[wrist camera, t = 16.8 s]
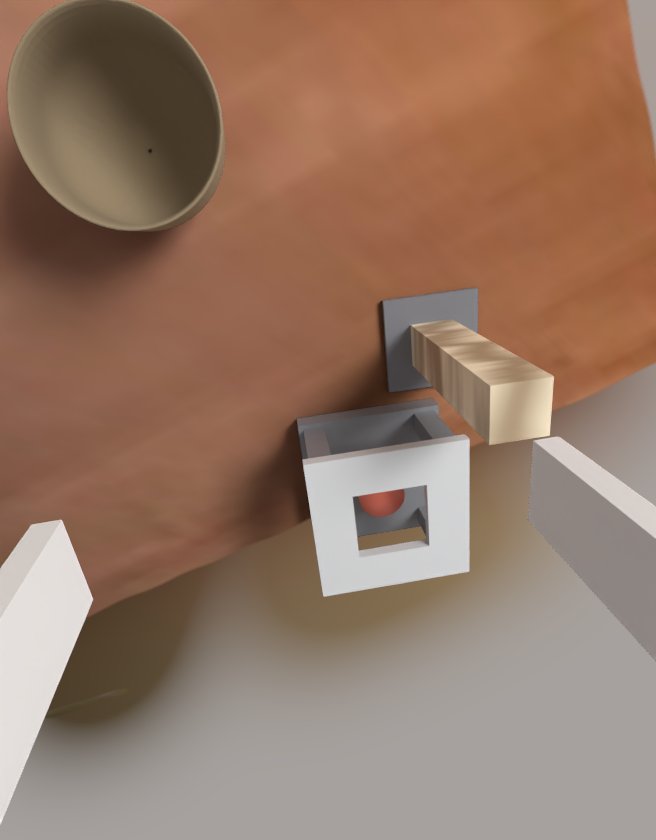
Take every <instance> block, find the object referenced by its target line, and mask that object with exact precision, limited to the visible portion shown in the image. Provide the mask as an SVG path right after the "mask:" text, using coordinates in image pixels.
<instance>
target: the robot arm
mask: <svg viewBox="0 0 656 840" xmlns="http://www.w3.org/2000/svg"><path fill="white" fill-rule="evenodd" d="M530 486H531V487H530V500H529V515H528V520H529V522H530V523H531V524H532V525H533V526H534V527H535V528H536V529H537V531H538V532H539V533H540V534H541V535H542V536H543V537H544V538H545V539H546V541H547V542H548V543H549V544H550V545H551V546H552V547H553V548H554V549H555V550H556V552H557V553H558V554H559V555H560V556H561V557H562V558H563V559H564V560H565V562H567V564H568V565H569V566H570V567H571V568H572V569H573V570H574V571H575V573H577V575H578V576H579V577H580V578H581V579H582V580H583V581H584V583H586V585H587V586H588V587H589V588H590V589H591V590H592V591H593V592H594V594H595V595H596V596H597V597H598V598H599V599H600V600H601V601H602V602H603V603H604V605H605V606H606V607H607V608H608V609H609V610H610V611H611V612H612V614H614V616H615V617H616V618H617V619H618V620H619V621H620V622H621V623H622V624H623V625H624V627H625V628H626V629H627V630H628V631H629V632H630V633H631V634H632V636H633V637H634V638H635V639H636V640H637V641H638V642H639V643H640V644H641V645H642V647H643V648H644V649H645V650H646V651H647V652H648V653H649V654H650V655H651V657H652V658H653V659H654V660H655V661H656V506H654V505H653V504H651V503H650V502H649V501H647V500H646V499H644V498H643V497H642V496H640V495H639V494H638V493H636V492H635V491H633V490H632V489H631V488H629V487H628V486H626V485H625V484H624V483H622V482H621V481H620V480H618V479H617V478H615V477H614V476H613V475H611V474H610V473H608V472H607V471H606V470H604V469H603V468H602V467H600V466H599V465H597V464H596V463H595V462H593V461H592V460H591V459H589V458H587V457H586V456H585V455H584V454H582V453H581V452H580V451H578V450H577V449H575V448H574V447H573V446H571V445H570V444H568V443H567V442H566V441H564V440H563V439H561V438H560V437H553V438H547V439H541V440H536V441H534V443H533V456H532V471H531V485H530ZM92 601H93V598H92V595H91V593H90V590H89V588H88V585H87V583H86V580H85V577H84V575H83V572H82V570H81V567H80V565H79V562H78V560H77V557H76V555H75V552H74V550H73V547H72V544H71V542H70V539H69V537H68V534H67V532H66V529H65V527H64V524H63V522H62V520H56V521H50V522H44V523H38V524H32V525H31V526H30V528H29V529H28V530H27V532H26V533H25V535H24V536H23V537H22V539H21V540H20V542H19V543H18V544H17V546H16V547H15V549H14V550H13V551H12V553H11V554H10V556H9V557H8V558H7V560H6V561H5V563H4V564H3V565H2V567H1V568H0V824H1V822H2V819H3V817H4V814H5V812H6V809H7V807H8V805H9V802H10V800H11V797H12V795H13V793H14V790H15V787H16V785H17V782H18V780H19V778H20V776H21V773H22V771H23V768H24V766H25V763H26V761H27V759H28V756H29V754H30V751H31V748H32V746H33V744H34V742H35V739H36V737H37V734H38V732H39V730H40V727H41V725H42V722H43V720H44V717H45V715H46V713H47V710H48V708H49V705H50V703H51V700H52V698H53V696H54V693H55V691H56V688H57V686H58V683H59V681H60V679H61V676H62V674H63V671H64V669H65V666H66V664H67V662H68V659H69V657H70V654H71V652H72V649H73V647H74V645H75V642H76V640H77V637H78V635H79V633H80V630H81V628H82V625H83V623H84V620H85V618H86V616H87V613H88V611H89V608H90V606H91V603H92Z"/></svg>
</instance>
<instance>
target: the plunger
mask: <svg viewBox="0 0 656 840" xmlns="http://www.w3.org/2000/svg"><path fill="white" fill-rule="evenodd" d="M358 498H359V501H360V504H361V507H362V509H363V510H364V511H365V512H366V513H367V514H369V515H371V516H375V517H385V516H388V515H391V514H393V513H395V512H396V511H397V510H398V509H399V508H400V507H401V506H402V504H403V502H404V498H405V492H404V489H398V490H392V491H386V492H380V493H373V494H367V495H361V496H358Z"/></svg>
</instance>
